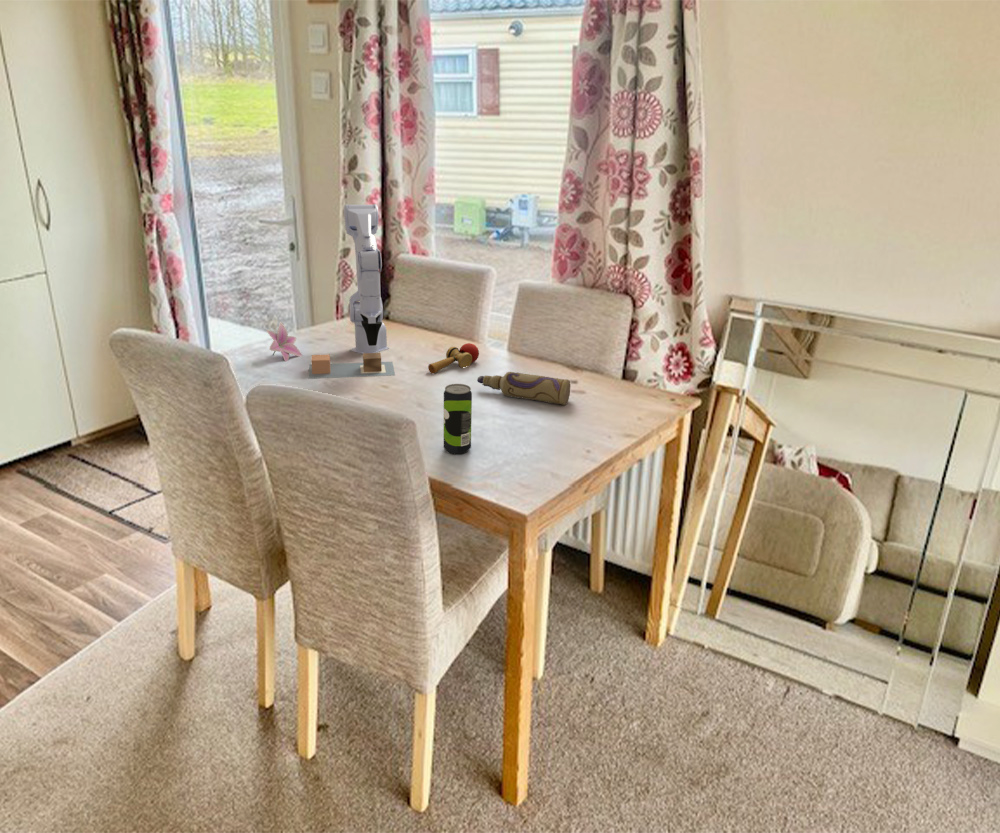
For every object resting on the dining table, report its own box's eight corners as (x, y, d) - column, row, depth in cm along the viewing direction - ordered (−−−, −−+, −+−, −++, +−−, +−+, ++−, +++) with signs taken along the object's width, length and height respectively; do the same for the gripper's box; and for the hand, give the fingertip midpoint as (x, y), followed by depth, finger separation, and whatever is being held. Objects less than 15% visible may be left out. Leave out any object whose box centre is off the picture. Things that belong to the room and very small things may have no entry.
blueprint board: (392, 362, 232) (392, 361, 232) (395, 376, 221) (395, 375, 221) (309, 365, 228) (309, 364, 228) (308, 379, 217) (308, 378, 217)
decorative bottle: (571, 399, 209) (573, 376, 207) (563, 409, 203) (565, 385, 200) (483, 384, 218) (483, 362, 215) (472, 393, 211) (472, 370, 209)
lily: (264, 369, 227) (277, 343, 223) (250, 344, 233) (262, 319, 229) (300, 373, 236) (313, 348, 231) (285, 349, 242) (298, 324, 238)
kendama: (443, 381, 223) (487, 360, 234) (438, 361, 220) (482, 340, 232) (426, 379, 228) (469, 358, 239) (421, 359, 226) (465, 338, 237)
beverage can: (470, 444, 181) (471, 383, 175) (470, 455, 175) (471, 393, 169) (444, 443, 181) (444, 383, 175) (443, 455, 175) (443, 393, 169)
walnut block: (380, 365, 228) (380, 352, 227) (381, 371, 224) (381, 358, 222) (363, 366, 227) (362, 353, 226) (363, 372, 223) (363, 358, 221)
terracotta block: (330, 367, 226) (329, 354, 224) (330, 373, 221) (329, 360, 219) (312, 368, 225) (311, 355, 223) (312, 374, 220) (311, 360, 218)
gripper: (354, 288, 223) (356, 334, 228) (356, 301, 210) (358, 349, 215) (379, 287, 224) (381, 333, 229) (382, 300, 211) (384, 348, 216)
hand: (371, 341), depth 222 cm, fingers open, 7 cm apart
